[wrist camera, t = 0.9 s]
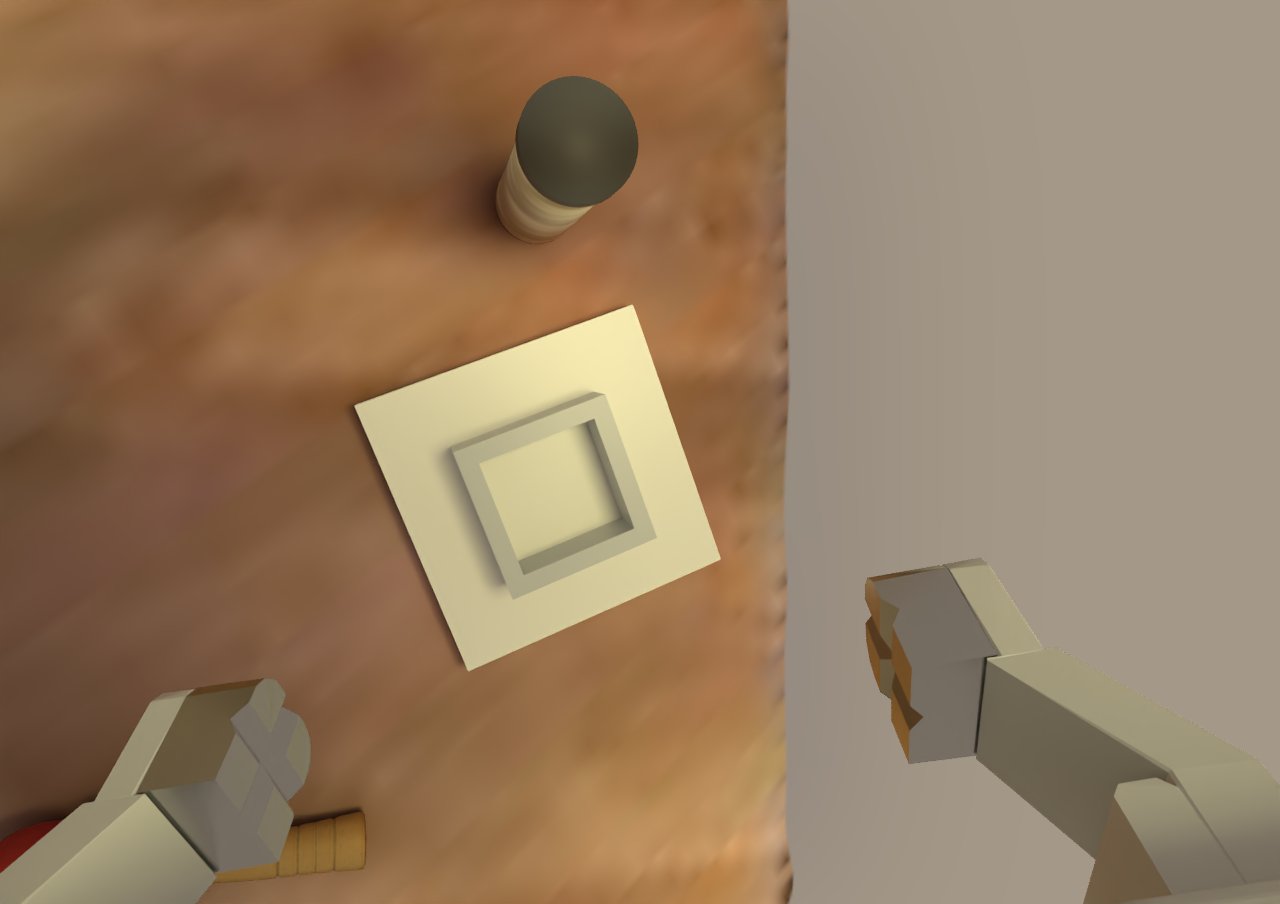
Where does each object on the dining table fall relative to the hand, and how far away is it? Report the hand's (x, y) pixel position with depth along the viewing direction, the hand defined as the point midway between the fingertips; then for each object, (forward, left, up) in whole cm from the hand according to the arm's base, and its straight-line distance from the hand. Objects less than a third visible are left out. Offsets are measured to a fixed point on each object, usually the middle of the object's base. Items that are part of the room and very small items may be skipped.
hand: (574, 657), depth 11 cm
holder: (+5, +3, -35) cm, 36 cm away
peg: (-10, +8, -35) cm, 38 cm away
